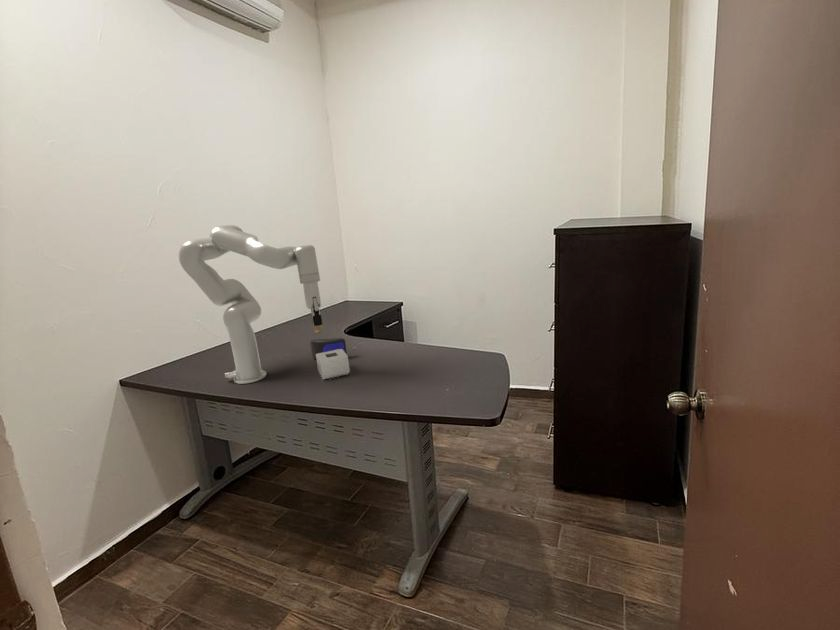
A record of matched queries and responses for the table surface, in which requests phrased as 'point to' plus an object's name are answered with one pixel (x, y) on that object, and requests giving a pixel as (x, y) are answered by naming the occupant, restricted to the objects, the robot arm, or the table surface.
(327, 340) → the leaning round-cornered charcoal block
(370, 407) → the table surface
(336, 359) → the bore block
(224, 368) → the table surface
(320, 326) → the dowel
